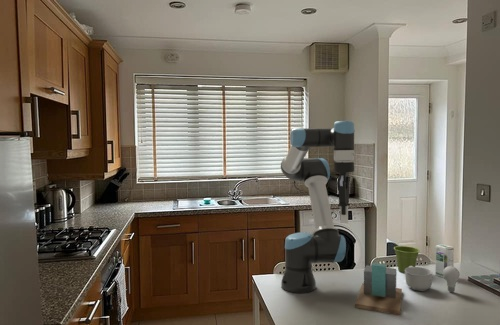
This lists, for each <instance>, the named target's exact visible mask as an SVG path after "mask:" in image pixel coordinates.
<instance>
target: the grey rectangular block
mask: <svg viewBox="0 0 500 325" xmlns="http://www.w3.org/2000/svg"><path fill="white" fill-rule="evenodd" d="M363 283H364V294H368V295H372V265H365V267H364V270H363ZM396 288H397V268H392V267H386V297H388V298H394V299H396Z"/></svg>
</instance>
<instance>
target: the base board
mask: <svg viewBox="0 0 500 325" xmlns="http://www.w3.org/2000/svg"><path fill="white" fill-rule="evenodd" d="M402 294H403V289H402V288H400V287H399V288H398V287H396V299H394V298H388V297H380V296H374V295H368V294H364V282H363V283H361V286H360V289H359V292H358V294H357V297H356V300H355V302H354V308H356V309H361V310H362V309H363V310H368V311H373V312H374V311H375V312H380V313H385V314H386V313H387V314H393V315H398V316H401V310H402V309H401V307H402Z"/></svg>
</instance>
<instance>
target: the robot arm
mask: <svg viewBox="0 0 500 325" xmlns="http://www.w3.org/2000/svg"><path fill="white" fill-rule="evenodd" d="M289 135H290V136H289V140H290V141H289V142H290V148H289V151H288V152H287V155H286V156H284V157H283V158H282V159H281V160H282V161H281V162H280V169H281V170H280V171H281V172H282V174H283V176H284V177H286V178H288V179H289V180H291V181H295V182H303V183H304V186H305V187H307V188H308V195H309V199H310V206H311V212H312V216H313V223H314V227H315V231H314V232H313V234H312V233H310V232H294V233H292V234H289V235H288V236H286V238H285V241H284V261H285V262H284V264H285V265H284V266H285V268H284V270H283V271H284V272H283V275H282V279H281V283H280V284H281V288H282V290H285V291H287V292H291V293H295V294H296V293H297V294H305V293H310V292H313V291H315V290H316V287H317V286H316V284H317V282H316V279H315V276H314V275H315V274H313V269H312V268H313V267H312V266H313V265H312V264H323V263H324V264H325V263H328V264H330V263H332V264H334V263H340V262H342V261H343V260H344V259H345V256H346V250H347V248H346V247H347V244H346V243H347V242H346V237H345V236H344V235H342V234H340V233H339V229H337V228H336V227H335V225H334V220H333V214H332V209H331V205H330V200H329V196H328V190H327V187H326V185H327V183H328V181H329V179H330V178H331V177H330V176H331V170H330V169H331V168H330V165H329V162H328V160H326V159H325V158H322V157H320V158H319V157H314V158H308V157H307V158H306V155H307V153H308V152H309V150H310V149H311V148H317V147H319V148H320V147H321V148H324V147H326V148H330V147H331V148H333V161H334V162H333V171H334V172H335V173H339V176H338V177H337V185H338V186H337V187H338V189H337V190H338V201H339V202H338V204H337V206H338V207H339V209H340V210H339V213H340V214H339V219H340V220H339V223H340V224H349V206H351V204H350V182H351V176H349V173H353V172H355V162H353V161H355V156H356V152H355V123H354V122H353V121H352V120H351V121H350V120H340V121H339V120H337V121H335V122H334V124H333V127H332V128H330V127H329V128H325V127H324V128H323V127H321V128H319V127H317V128H315V127H314V128H312V127H311V128H304V127H303V128H302V127H298V128H292V129H291V131H290V134H289Z"/></svg>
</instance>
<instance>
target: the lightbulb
mask: <svg viewBox="0 0 500 325" xmlns="http://www.w3.org/2000/svg"><path fill="white" fill-rule="evenodd" d="M443 275H444V277H445V278H444V279H445V281H446V287H447V291H448V292H449V293H454V292H455V290H456V285H457V281H458V280H459V279H460V276H461V274H460V271H459V269H458V268H457V267H455V266H454V267H453V266H448V267H446V268H445V269H444V270H443Z"/></svg>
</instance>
